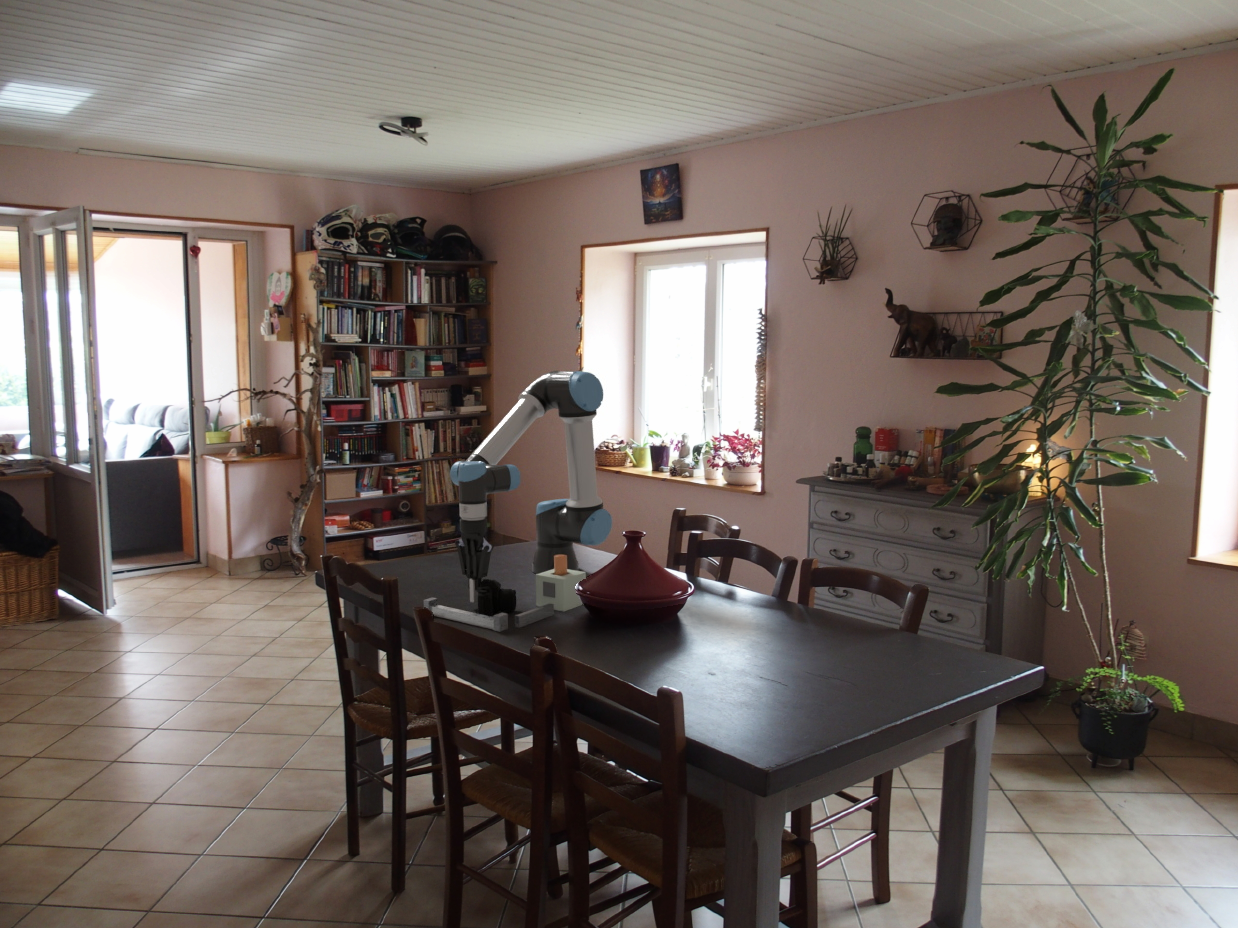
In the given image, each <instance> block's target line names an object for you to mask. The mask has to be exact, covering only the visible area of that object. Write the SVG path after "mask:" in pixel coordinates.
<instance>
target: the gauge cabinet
mask: <svg viewBox="0 0 1238 928" xmlns="http://www.w3.org/2000/svg"><path fill="white" fill-rule="evenodd" d="M583 579H586V580H587V572H586V571H580V570H578V571H576V570H570V569H567V575H564V576H559V575H554V569H552V570H549V571H546V572H542V573H539V574H536V573H535V606H536V607H540V606H543V605H546V604H549V603H551V604H554V611H559V612H566V611H570V610H572V609H575V608H576V607H580V606H582V603H581V600H580V599H579V597H578V595H577V594H576V591H575V586H576V584H577V583H578V582H580V581H582V580H583Z"/></svg>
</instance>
